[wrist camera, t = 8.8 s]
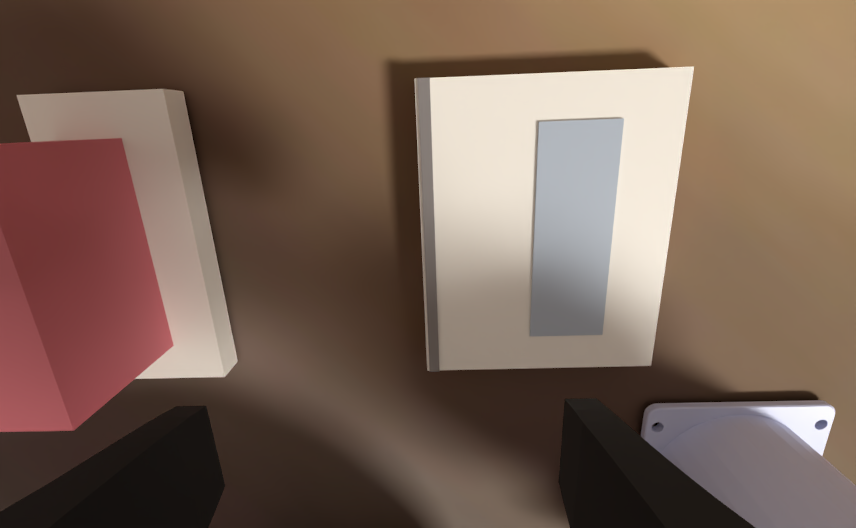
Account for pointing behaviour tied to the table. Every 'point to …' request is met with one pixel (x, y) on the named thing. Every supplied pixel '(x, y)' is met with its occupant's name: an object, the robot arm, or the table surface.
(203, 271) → the stub
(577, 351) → the white flat slab
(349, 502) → the table surface
